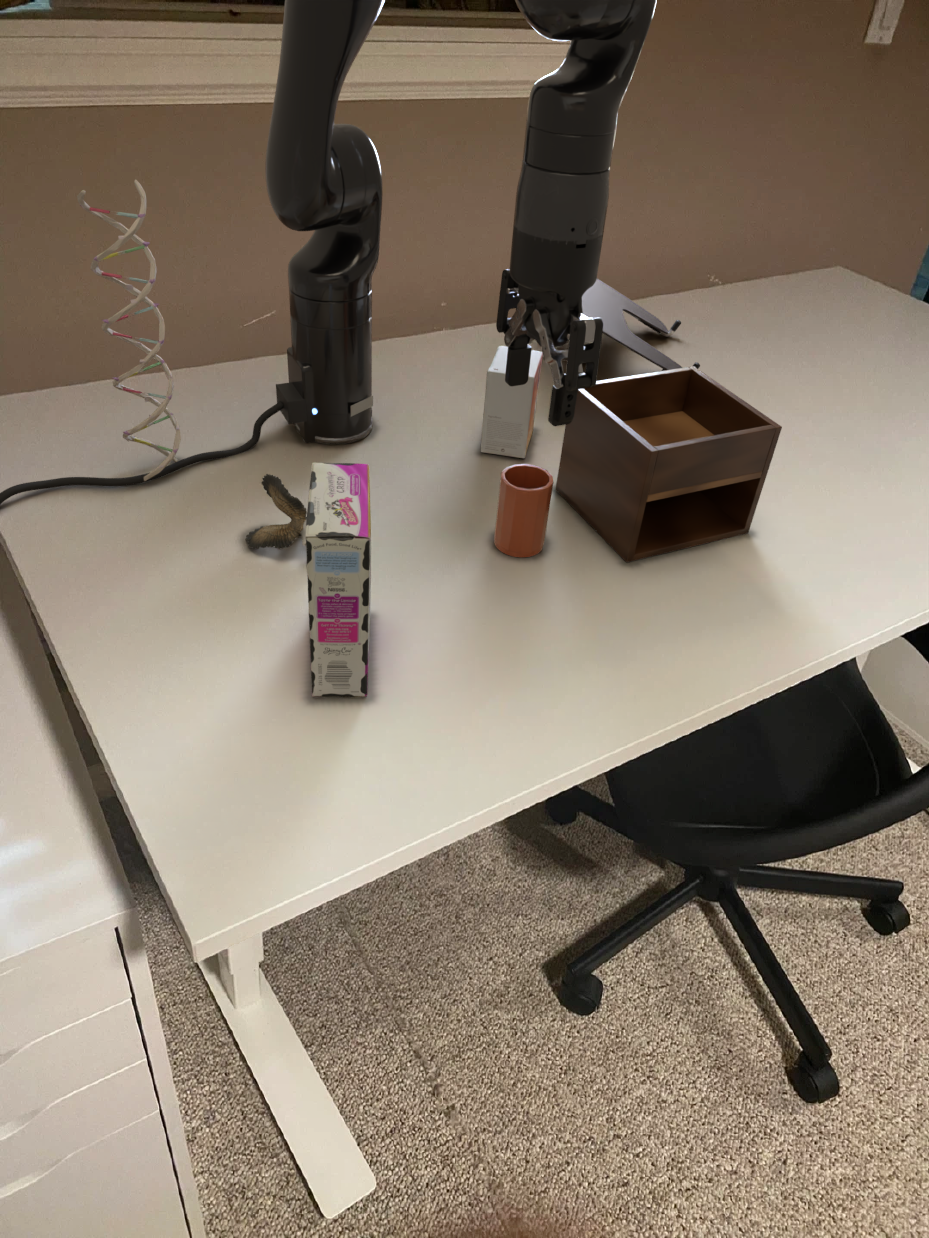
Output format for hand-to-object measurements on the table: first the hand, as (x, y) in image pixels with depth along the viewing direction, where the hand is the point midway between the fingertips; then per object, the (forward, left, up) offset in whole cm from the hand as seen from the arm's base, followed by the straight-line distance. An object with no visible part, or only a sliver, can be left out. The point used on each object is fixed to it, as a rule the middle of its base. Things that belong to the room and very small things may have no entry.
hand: (537, 403), depth 86 cm
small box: (+9, +20, -16) cm, 27 cm away
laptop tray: (+37, +39, -16) cm, 56 cm away
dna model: (-32, +26, -16) cm, 44 cm away
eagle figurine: (-22, +8, -16) cm, 29 cm away
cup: (0, 0, -16) cm, 16 cm away
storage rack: (+17, +1, -16) cm, 23 cm away
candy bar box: (-23, -10, -16) cm, 30 cm away
